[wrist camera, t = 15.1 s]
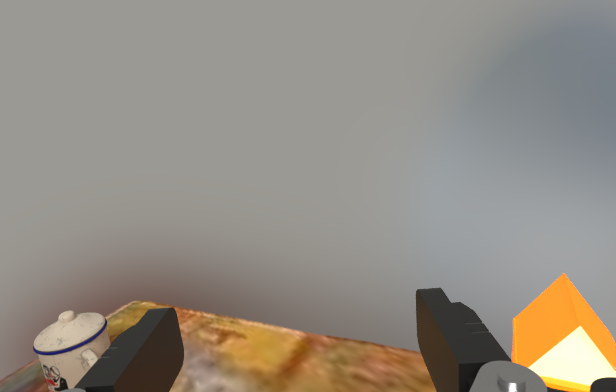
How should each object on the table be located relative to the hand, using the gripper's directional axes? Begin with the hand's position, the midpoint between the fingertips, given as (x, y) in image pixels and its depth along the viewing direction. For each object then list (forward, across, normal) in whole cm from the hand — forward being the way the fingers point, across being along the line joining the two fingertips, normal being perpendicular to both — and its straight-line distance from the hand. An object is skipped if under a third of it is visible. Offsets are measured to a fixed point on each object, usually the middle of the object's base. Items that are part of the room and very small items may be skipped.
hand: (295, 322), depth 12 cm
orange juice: (+17, -20, +30) cm, 40 cm away
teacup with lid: (+34, +36, +30) cm, 58 cm away
